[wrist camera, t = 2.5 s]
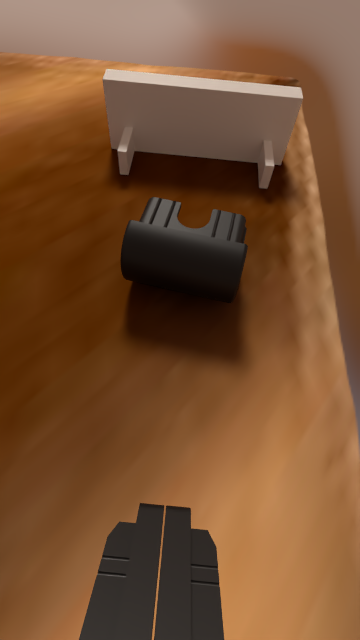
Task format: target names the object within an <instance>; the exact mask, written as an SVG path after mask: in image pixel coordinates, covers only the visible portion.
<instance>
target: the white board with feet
mask: <svg viewBox="0 0 360 640" xmlns="http://www.w3.org/2000/svg"><path fill="white" fill-rule="evenodd" d="M103 86H104V94H105V102H106V109H107V117H108V125H109V133H110V140H111V148H112V149H118V160H119V169H120V174H122V175H128V174H129V171H130V167H131V163H132V159H133V155H134V151H141V152H151V153H161V154H171V155H182V156H192V157H202V158H212V159H223V160H233V161H243V162H253V163H258V178H259V188H265V189H267V188H268V185H269V182H270V179H271V175H272V172H273V169H274V165H281V163H282V160H283V157H284V154H285V151H286V148H287V145H288V142H289V139H290V136H291V133H292V130H293V127H294V124H295V121H296V118H297V115H298V112H299V109H300V106H301V103H302V100H303V96H302V91H301V88H299V87H289V86H278V85H268V84H258V83H247V82H237V81H227V80H216V79H206V78H196V77H186V76H175V75H165V74H155V73H144V72H134V71H124V70H113V69H107V70H106V72H105V74H104V77H103Z"/></svg>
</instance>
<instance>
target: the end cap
mask: <svg viewBox="0 0 360 640" xmlns="http://www.w3.org/2000/svg"><path fill="white" fill-rule="evenodd" d="M180 208H181V203H180V202H176V201H170V200H166V199H161V198H156V197H152V198H150V199H149V201H148V203H147V205H146V207H145V210H144V212H143V214H142V217H141V219H140V221H139V222H138V221H133V220H130V221H129V223H128V225H127V228H126V231H125V234H124V239H123V244H122V250H121V271H122V275H123V277H124V278H125V279H126V280H130V281H134V282H139V283H143V284H148V285H152V286H157V287H161V288H166V289H170V290H175V291H179V292H183V293H188V294H192V295H197V296H201V297H206V298H210V299H215V300H219V301H223V302H228V303H231V302H233V300H234V298H235V296H236V292H237V289H238V286H239V282H240V278H241V275H242V271H243V266H244V262H245V258H246V253H247V248H248V246H247V245H246V244H244V240H245V234H246V227H245V223H246V219H245V217H244V216H242V215H239V214H235V213H230V212H225V211H220V210H215V209H213V211H212V215H211V219H210V222H209V223H208V224H207V225H206V226H205V227H202V228H199V229H191V228H187V227H185V226H183V225H181V224H180V223H179V221H178V219H177V217H178V214H179V211H180Z"/></svg>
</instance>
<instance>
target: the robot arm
mask: <svg viewBox="0 0 360 640" xmlns="http://www.w3.org/2000/svg"><path fill="white" fill-rule="evenodd" d="M163 513H164V505H154V504H144V503H140V506H139V510H138V516H137V521H136V523H127V522H119V523H118V524H117V525H116V527H115V528H114V529H113V530H112V532H111V533H110V534H109V536H108V537H107V541H106V544H105V548H104V552H103V555H102V559H101V562H100V566H99V570H98V575H97V577H96V580H95V584H94V587H93V591H92V595H91V598H90V602H89V605H88V609H87V613H86V616H85V620H84V623H83V627H82V631H81V634H80V638H79V640H152V629H153V619H154V609H155V598H156V588H157V578H158V567H159V557H160V546H161V535H162V524H163ZM154 640H224V632H223V620H222V609H221V597H220V587H219V574H218V562H217V550H216V546H215V544H214V542H213V540H212V538H211V536H210V534H209V532H208V530H200V529H191V509H190V508H186V507H176V506H166V515H165V526H164V537H163V547H162V558H161V569H160V580H159V591H158V602H157V614H156V625H155V636H154Z"/></svg>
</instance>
